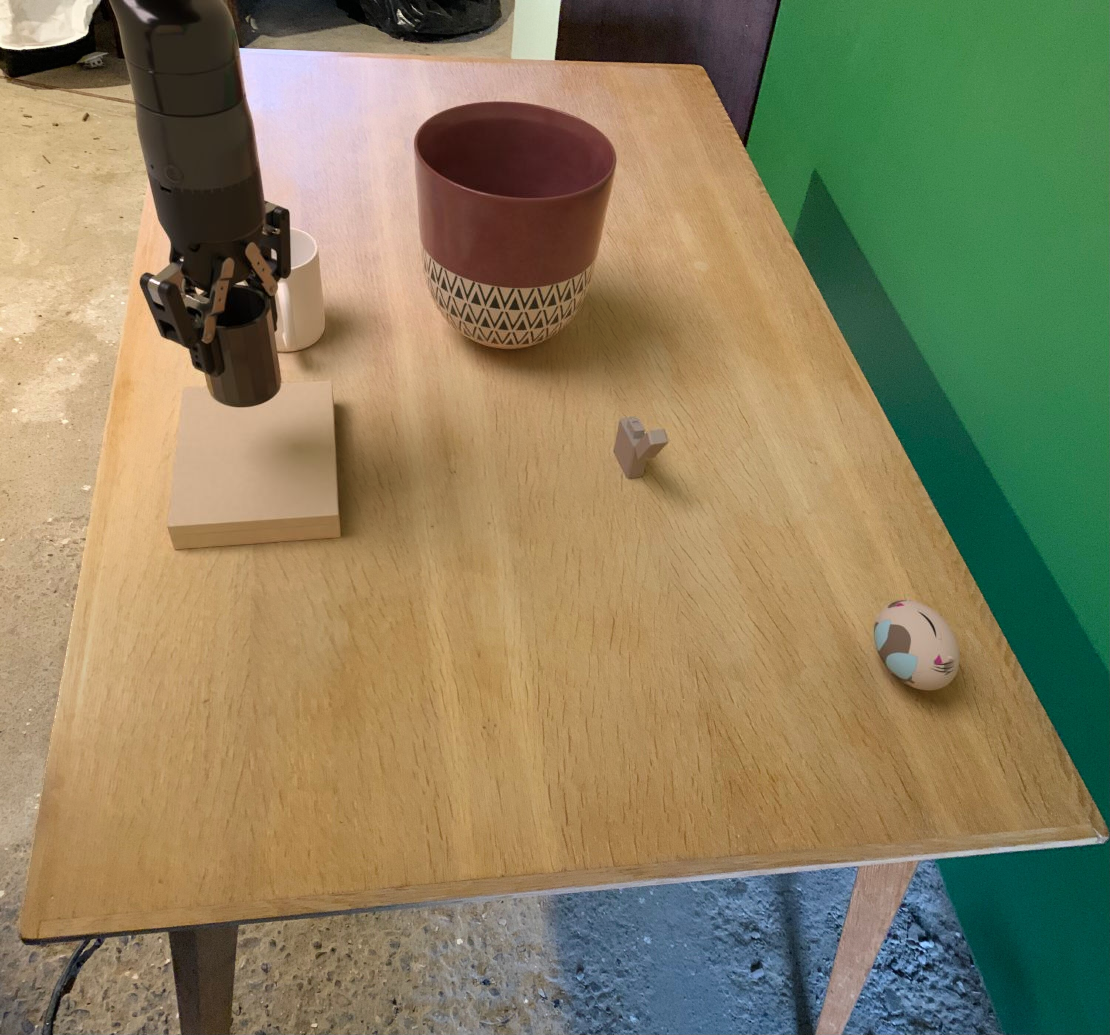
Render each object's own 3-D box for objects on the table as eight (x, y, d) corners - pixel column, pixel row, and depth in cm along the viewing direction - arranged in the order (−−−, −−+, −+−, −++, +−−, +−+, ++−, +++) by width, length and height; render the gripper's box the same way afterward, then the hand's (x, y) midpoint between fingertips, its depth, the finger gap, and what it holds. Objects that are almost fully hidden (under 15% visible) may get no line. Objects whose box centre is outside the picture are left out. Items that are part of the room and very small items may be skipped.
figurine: (845, 639, 82) (872, 591, 77) (903, 624, 84) (932, 577, 79) (895, 717, 77) (927, 672, 72) (955, 701, 79) (990, 655, 74)
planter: (400, 287, 110) (395, 105, 94) (558, 272, 115) (579, 96, 100) (438, 395, 98) (440, 206, 82) (613, 372, 103) (646, 191, 88)
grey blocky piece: (612, 450, 95) (624, 388, 89) (628, 447, 95) (641, 386, 90) (638, 500, 91) (652, 439, 85) (654, 497, 91) (670, 437, 85)
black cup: (250, 417, 78) (235, 338, 72) (192, 390, 80) (173, 311, 74) (296, 378, 82) (285, 300, 76) (240, 353, 83) (226, 275, 77)
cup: (320, 303, 106) (312, 222, 99) (336, 371, 99) (328, 288, 91) (243, 310, 104) (229, 228, 97) (254, 380, 97) (239, 296, 89)
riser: (340, 537, 84) (338, 514, 82) (173, 549, 81) (166, 526, 79) (334, 403, 96) (331, 380, 93) (188, 410, 93) (182, 386, 91)
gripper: (229, 105, 71) (258, 293, 84) (80, 182, 62) (138, 381, 74) (311, 135, 69) (329, 323, 82) (170, 219, 60) (214, 417, 73)
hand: (238, 350), depth 78 cm, fingers closed on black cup, 6 cm apart
